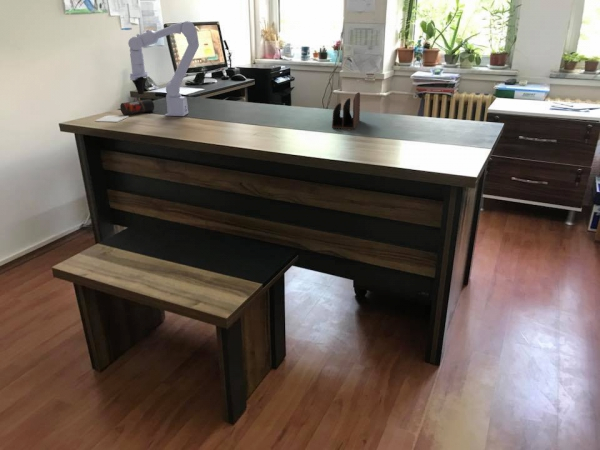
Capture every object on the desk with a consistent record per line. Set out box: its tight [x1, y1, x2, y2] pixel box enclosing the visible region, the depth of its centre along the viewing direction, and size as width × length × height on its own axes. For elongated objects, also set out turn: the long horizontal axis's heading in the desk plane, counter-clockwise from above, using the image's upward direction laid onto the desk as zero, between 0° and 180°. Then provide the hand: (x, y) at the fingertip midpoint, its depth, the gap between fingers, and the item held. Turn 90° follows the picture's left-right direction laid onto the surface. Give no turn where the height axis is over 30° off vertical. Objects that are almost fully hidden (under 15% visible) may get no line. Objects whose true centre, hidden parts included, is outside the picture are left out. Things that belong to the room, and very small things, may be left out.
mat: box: [94, 115, 130, 123], centre depth 234 cm, size 11×12×1 cm
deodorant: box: [120, 99, 155, 116], centre depth 246 cm, size 6×6×15 cm
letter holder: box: [331, 92, 361, 130], centre depth 224 cm, size 10×20×14 cm, turn 167°
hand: (141, 93), depth 237 cm, fingers closed
